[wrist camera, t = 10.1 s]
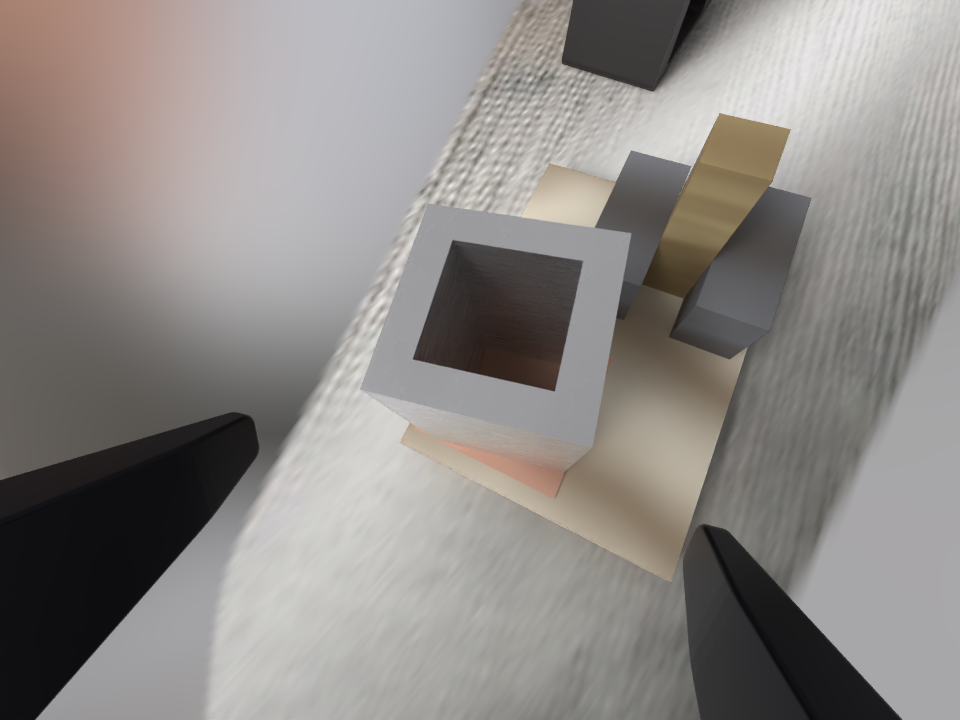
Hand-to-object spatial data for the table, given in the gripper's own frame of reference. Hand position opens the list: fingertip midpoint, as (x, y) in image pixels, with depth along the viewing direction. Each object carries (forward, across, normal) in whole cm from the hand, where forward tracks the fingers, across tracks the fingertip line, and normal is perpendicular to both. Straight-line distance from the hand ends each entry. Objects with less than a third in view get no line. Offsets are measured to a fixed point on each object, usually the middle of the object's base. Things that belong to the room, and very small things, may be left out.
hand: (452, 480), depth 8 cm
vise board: (+13, -3, +2) cm, 13 cm away
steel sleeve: (+9, 0, +3) cm, 10 cm away
